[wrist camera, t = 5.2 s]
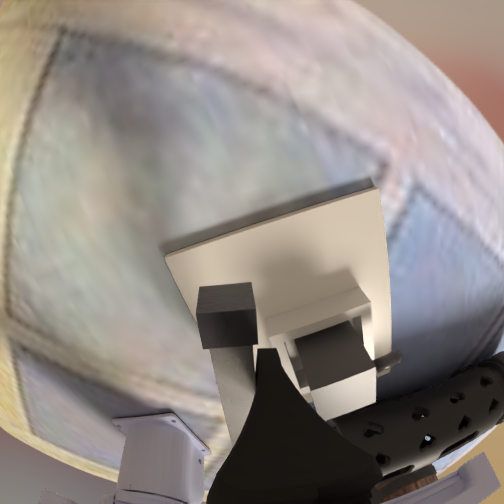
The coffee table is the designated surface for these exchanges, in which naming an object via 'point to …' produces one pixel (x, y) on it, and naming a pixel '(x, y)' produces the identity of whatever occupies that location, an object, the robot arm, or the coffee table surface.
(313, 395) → the plug
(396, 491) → the tankard
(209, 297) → the clip
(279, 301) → the socket base
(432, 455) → the muzzle brake
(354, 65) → the coffee table surface
